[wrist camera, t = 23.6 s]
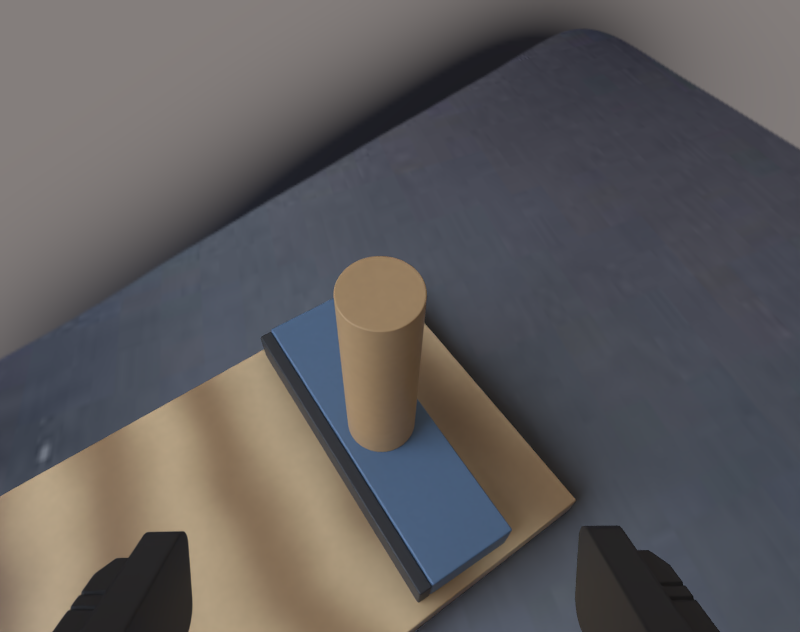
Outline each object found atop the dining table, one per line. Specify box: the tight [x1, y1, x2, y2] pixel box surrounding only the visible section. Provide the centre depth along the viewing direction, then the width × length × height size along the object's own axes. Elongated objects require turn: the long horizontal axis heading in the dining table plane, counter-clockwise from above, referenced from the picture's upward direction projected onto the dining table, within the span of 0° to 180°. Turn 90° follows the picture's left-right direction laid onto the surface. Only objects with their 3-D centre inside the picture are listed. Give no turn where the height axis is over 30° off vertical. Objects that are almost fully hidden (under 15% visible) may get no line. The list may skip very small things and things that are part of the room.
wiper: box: [261, 256, 512, 603], centre depth 26 cm, size 5×14×12 cm, turn 33°
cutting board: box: [0, 323, 576, 632], centre depth 30 cm, size 24×15×2 cm, turn 125°
